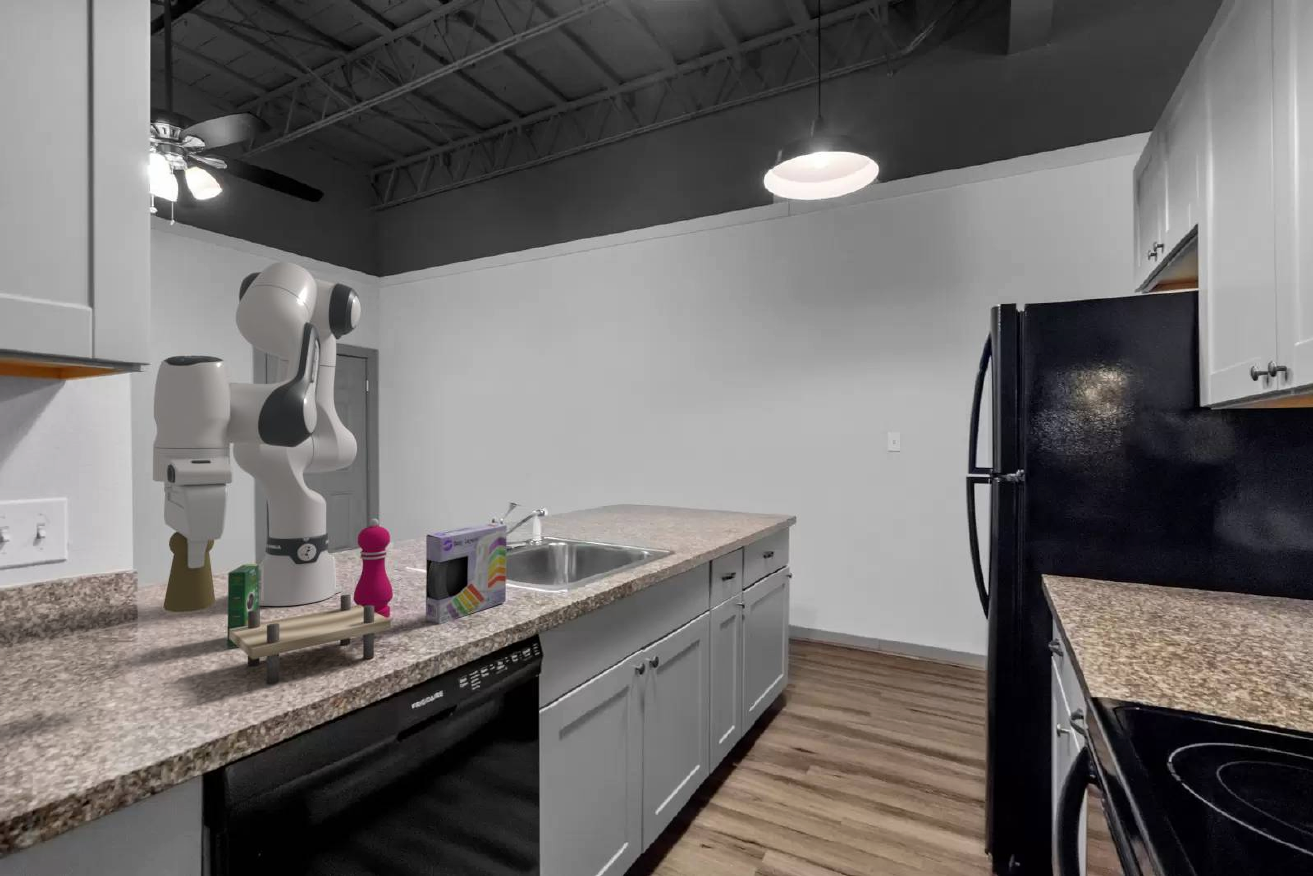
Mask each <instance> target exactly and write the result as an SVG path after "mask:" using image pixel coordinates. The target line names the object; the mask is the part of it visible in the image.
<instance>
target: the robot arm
mask: <svg viewBox="0 0 1313 876" xmlns="http://www.w3.org/2000/svg"><path fill="white" fill-rule="evenodd" d="M238 299H239V300H238V305H237V308H236V312H235V323H236V326H237V329H238V330H239V333H240V334H241V335H242V337H243V338H244V339H245V341H246V342H248V343H249V344H250V345H251V346H253V347H254V348H256V349H257V350H259V351H261V352H263V353H265V354H268V355H271V356H275V357H278V361H277V363H278V365H277V374H276V382H274V383H243V382H242V383H241V382H233V380H231V379H230V378H229V373H228V368H227V363H226V362H225V360H223V358H220V357H217V356H209V355H207V356H206V355H176V356H171V357H168V358H166V359H164V360H163V359H162V361H161V363H160V364H159V367H158V371H157V375H156V379H155V386H154V396H153V398H154V399H153V419H154V421H155V424H156V436H155V439H154V441H153V443H152V444H153V445H152V480H153V481H154V482H160V483H161V482H163V483H164V484H163V485H164V487H163V492H164V506H163V507H164V509H163V511H164V512H163V518H164V523H165V525H166V526H168V527H169V528H171V529H172V530H174V531H176V532H178V533H180V534H181V535H183V536H184V537H186V538H187V544H188V554H187V566H188V567H189V568H199V567H202V566H203V565H204V554H205V551H206V547H207V541H208V540H214V541H215V540H220V539H221V538H222V536H223V534H224V529H225V524H226V516H227V507H228V505H227V504H228V493H229V492H228V484H232V483H233V481H234V471H233V468H232V466H231V457H230V456H231V445H230V444H233V446H232V454H233V458H234V461H235V463H236V464H237V466H238V467H239V468H240V469H242V471H244V472H245V473H247V474H249V475H250V476H251V477H252V478H254V480H255V481H256V482H257V483H258V484H259V486H260V488H261V489H262V491H263V493H264V495H265V499H266V501H267V507H268V525H269V529H268V531H269V532H268V533H269V536H268V537H267V538H266V543H265V553H266V554H265V556H264V558H263V559H262V561H261V562H260V563H259V607H261V606H262V607H263V606H271V607H284V606H285V607H287V606H296V605H297V606H298V605H305V604H311V603H317V602H321V601H324V600H327V599H329V598H331V597H333V596H335V594H339V593H340V592H343V586H341V585H338V584H337V581H336V580H337V578H336V576H337V575H336V560H335V557H334V556H333V555H332V554H330V553H329V552H328V549H329V541H330V540H329V533H327V502H326V500H325V498H324V497H323V496H322V495H321V494H320V493H318V492H316V491H314V490H312V489H310V488H309V487H308V486H307V485H306V483H305V481H304V475H303V474H309V473H310V474H311V473H328V472H329V473H330V472H333V471H338V470H341V469H344V468H347V467H349V466H351V464H352V463H353V462H354V461H355V459H356V456H357V451H358V444H357V440H356V438H355V436H354V435H353V433H352V432H351V431H350V430H349V429H348V428H347V427H346V426H345V425H344V424H343V422H342V421H341V420H340V417H339V416H338V412H337V411H336V407H335V397H334V391H335V390H334V389H335V376H336V375H335V374H336V365H337V364H336V363H337V340H340V339H341V338H342V336H346V335H348V334H350V333H351V332H352V331H354V330H355V328H356V327H357V324H358V323H359V321H360V318H361V314H362V312H361V311H362V309H361V308H362V307H361V303H360V298H359V295H358V293H357V292H356V291H355V289H354V288H353V287H350V286H348V285H345V284H342V283H338V282H337V283H333V282H332V281H331V282H330V281H326V280H323V279H319V278H314V277H313V275H312V274H311V273H310V272H309V271H308V270H307V269H305V268H304V267H303V266H300V265H298V264H297V263H293V262H289V261H277V262H275V263H274V262H273V263H272V264H269V266H267V267H265V268H264V269H263V270H261V271H258V272H252V273H250V274H249V275H247V276H246V277H244V279H243V280H242V282H241V284H240V288H239V293H238Z"/></svg>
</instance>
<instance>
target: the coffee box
mask: <svg viewBox="0 0 1313 876" xmlns="http://www.w3.org/2000/svg"><path fill="white" fill-rule="evenodd" d="M259 565H260V563H246V564H242V565H241V566H239V567H237V568H235V569H233V570H231V571H229V572H227V636H226V637H227V642H226V647H227V648H228V649H229V648H230V649H231V648H239V647H238V646H237V645H236V644H235V643H234V642H233V641H231V640H230V639H229V629H232V628H238V627H243V626H248V612H249V611H252V610H259V609H260V606H259Z"/></svg>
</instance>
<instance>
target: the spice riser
mask: <svg viewBox="0 0 1313 876" xmlns="http://www.w3.org/2000/svg"><path fill="white" fill-rule="evenodd" d="M351 596H352V595H351V594H346V593H345V594H342V595H340V608H335V609H331V610H324V611H319V612H315V613H309V614H304V615H303V614H302V615H299V616H293V617H292V616H291V617H287V618H286V617H285V618H282V619H276V620H271V621H266V622H265V621H264V622H261V610H252V611H249V612H248V626H243V627H238V628H232V629H229V639H230V640H231V641H233V642H234V643H235V644H236V645H237V646H238V647H237V648H239V649H240V650H241V651H243V652H244V653H245V654H246V656H247V666H248V667H255V665H256V666H258V665H260V663H261V662H260V659H261V658H265V657H266V669H265V670H266V673H265V674H266V675H265V676H266V678H265V679H266V684H267V685H272V684H273V683H274V684H277V683H279V682H280V654H282V653H289V652H293V651H296V650H302V649H306V648H310V647H315V646H320V645H324V644H327V643H328V644H329V643H334V642H337V641H339V645H340V646H347V645H350V644H351V638H356V637H360V636H363V639H362V640H363V641H362V643H363V645H362V647H363V649H362V650H363V652H362V656H363V657H362V659H363V660H367V661H368V660H372V659H374V657H375V633H378V632H383V631H388V630H391V627H392V623H391V621H392V620H391V619H390V618H389V617H388V618H386V617H384V616H382V615H380V614H378V613H375V612H374V606H372V605H370V606H365V607H363V606H361V605H357V604H356V605H353V606H352V605H351V604H352V603H351V602H352V600H351V598H352V597H351ZM276 682H277V683H276Z"/></svg>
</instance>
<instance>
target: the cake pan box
mask: <svg viewBox="0 0 1313 876" xmlns="http://www.w3.org/2000/svg"><path fill="white" fill-rule="evenodd" d="M507 529H508V525H506V524H503V523H502V524H501V523H498V522H491V523H486V524H480V525H474V526H473V525H472V526H464V527H458V528H455V529H454V528H453V529H449V530H444V531H438V532H431V533H427V534H426V540H425V541H426V543H425V545H426V550H425V551H426V555H425V558H426V559H425V561H426V564H425V565H426V568H425V569H426V570H425V571H426V574H425V575H426V577H425V578H426V579H425V582H426V583H425V621H427V622H431V623H435V624H438V625H441V624H444V623H446V622H450V621H453V620H456V619H459V618H461V617H465V616H468V615H471V614H473V613H477V612H479V611H483V610H486V609H489V608H491V607H494V606H497V605H501V604H503V603H505V602H506V600H507V599H506V597H507V596H506V594H507V593H506V592H507V591H506V588H507V539H508V537H507V535H508V534H507V533H508V530H507Z"/></svg>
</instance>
